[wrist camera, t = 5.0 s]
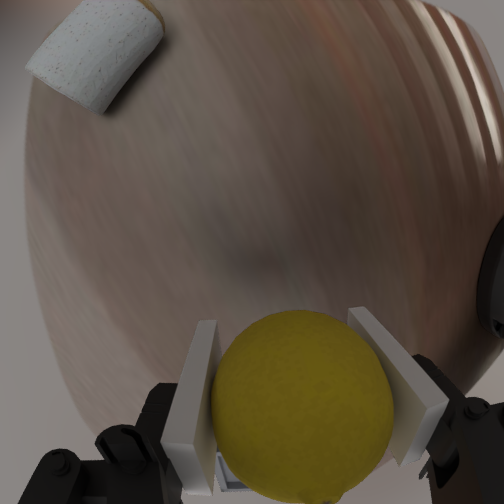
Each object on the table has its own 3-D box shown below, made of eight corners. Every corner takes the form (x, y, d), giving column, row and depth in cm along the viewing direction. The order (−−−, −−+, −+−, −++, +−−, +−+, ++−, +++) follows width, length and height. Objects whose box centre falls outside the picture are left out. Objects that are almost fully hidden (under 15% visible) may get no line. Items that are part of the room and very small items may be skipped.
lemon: (363, 344, 12) (449, 471, 4) (267, 403, 13) (283, 546, 5) (302, 252, 11) (409, 376, 3) (193, 328, 12) (142, 492, 4)
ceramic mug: (182, 42, 16) (157, -15, 9) (116, 125, 18) (59, 99, 10) (99, 10, 15) (63, -30, 7) (45, 80, 16) (-8, 57, 9)
